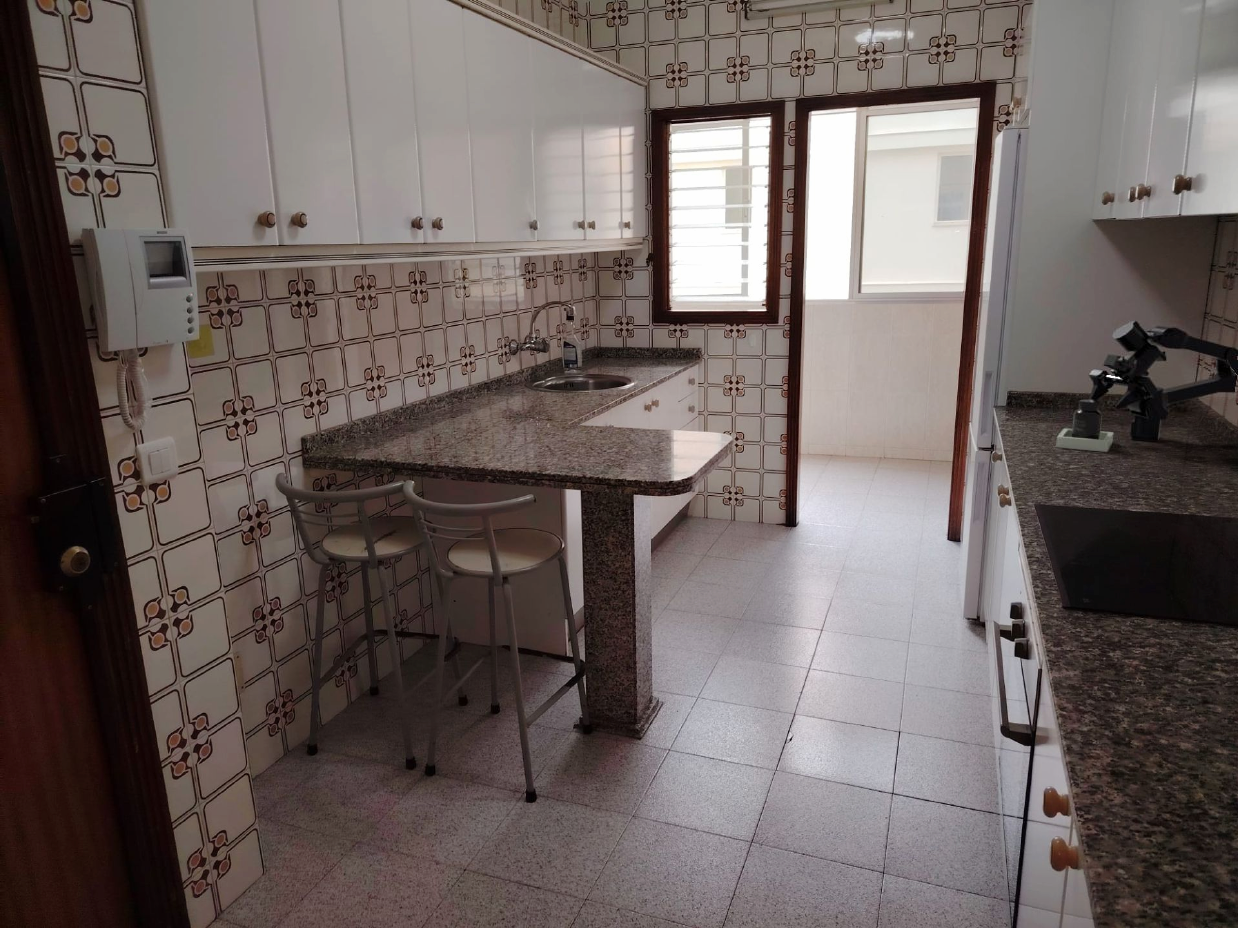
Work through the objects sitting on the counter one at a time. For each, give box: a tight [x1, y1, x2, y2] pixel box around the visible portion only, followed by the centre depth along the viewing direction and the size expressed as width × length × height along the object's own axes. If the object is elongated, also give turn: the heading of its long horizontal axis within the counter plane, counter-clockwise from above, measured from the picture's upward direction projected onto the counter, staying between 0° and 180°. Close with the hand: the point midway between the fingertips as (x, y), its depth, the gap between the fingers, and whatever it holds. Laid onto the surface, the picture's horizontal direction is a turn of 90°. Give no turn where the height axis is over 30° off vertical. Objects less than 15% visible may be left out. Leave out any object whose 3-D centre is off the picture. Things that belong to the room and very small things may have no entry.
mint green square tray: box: [1055, 427, 1114, 453], centre depth 235 cm, size 12×12×3 cm
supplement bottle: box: [1071, 399, 1103, 440], centre depth 234 cm, size 7×7×12 cm
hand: (1102, 405), depth 234 cm, fingers open, 9 cm apart
